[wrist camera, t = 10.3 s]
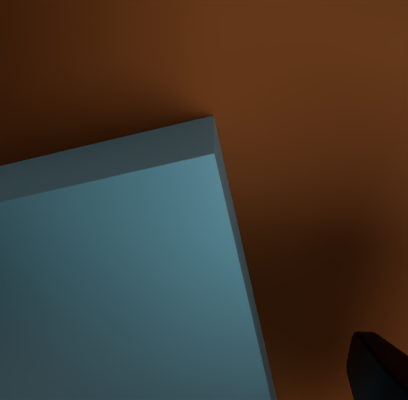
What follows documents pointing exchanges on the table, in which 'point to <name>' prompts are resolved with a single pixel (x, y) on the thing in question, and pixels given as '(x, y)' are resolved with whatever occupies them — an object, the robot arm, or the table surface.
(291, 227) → the table surface
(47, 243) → the teal brick
